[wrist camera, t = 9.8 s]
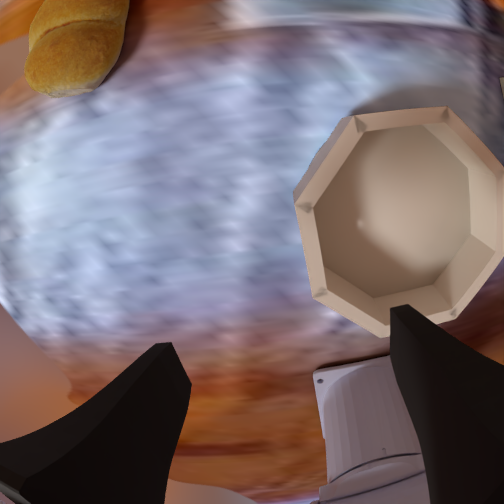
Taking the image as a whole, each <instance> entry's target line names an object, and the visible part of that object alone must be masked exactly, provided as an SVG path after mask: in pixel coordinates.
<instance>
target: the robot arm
mask: <svg viewBox="0 0 504 504" xmlns="http://www.w3.org/2000/svg"><path fill="white" fill-rule="evenodd" d="M313 379H314V385H315V391H316V396H317V402H318V408H319V414H320V420H321V426H322V432H323V438H324V439H325V441H326V458H327V478H328V484H327V485H325V486H321V487H319V500H316V501H313V502H311V503H310V504H504V365H502V364H500V363H498V362H496V361H494V360H492V359H490V358H488V357H486V356H484V355H482V354H480V353H479V352H477V351H475V350H473V349H472V348H470V347H469V346H467V345H465V344H464V343H462V342H461V341H459V340H458V339H456V338H455V337H453V336H452V335H450V334H449V333H447V332H446V331H444V330H443V329H442V328H440V327H439V326H437V325H436V324H435V323H433V322H432V321H431V320H429V319H428V318H427V317H425V316H424V315H423V314H421V313H420V312H419V311H417V310H416V309H414V308H413V307H412V306H410V305H409V304H405V305H400V306H396V307H392V308H390V355H389V356H385V357H380V358H376V359H371V360H366V361H362V362H357V363H351V364H346V365H341V366H335V367H330V368H324V369H318V370H316V371H314V373H313ZM319 379H322V380H319ZM191 386H192V384H191V382H190V380H189V378H188V376H187V374H186V372H185V370H184V368H183V366H182V364H181V362H180V359H179V357H178V355H177V353H176V351H175V349H174V347H173V345H172V343H171V342H167V343H156V344H155V345H153V346H152V347H151V348H149V349H148V350H147V351H146V352H145V353H143V354H142V355H141V356H140V357H139V358H138V359H137V360H135V361H134V362H133V363H132V364H131V365H130V366H129V367H128V368H126V369H125V370H124V371H123V372H122V373H121V374H120V375H119V376H117V377H116V378H115V379H114V380H113V381H112V382H110V383H109V384H108V385H107V386H106V387H104V388H103V389H102V390H101V391H99V392H98V393H97V394H96V395H94V396H93V397H92V398H91V399H89V400H88V401H87V402H85V403H84V404H82V405H81V406H79V407H78V408H76V409H75V410H74V411H72V412H70V413H69V414H67V415H65V416H64V417H62V418H60V419H58V420H56V421H55V422H53V423H51V424H49V425H47V426H45V427H43V428H41V429H39V430H37V431H34V432H32V433H30V434H27V435H25V436H22V437H19V438H16V439H13V440H10V441H6V442H3V443H0V492H2V493H3V494H4V495H5V496H6V497H8V498H9V499H10V500H12V501H13V502H14V503H15V504H164V501H165V492H166V487H167V480H168V475H169V470H170V466H171V462H172V458H173V455H174V452H175V449H176V446H177V442H178V439H179V436H180V433H181V430H182V427H183V423H184V420H185V417H186V414H187V410H188V405H189V400H190V393H191ZM0 504H5V503H4V502H3V501H1V500H0Z"/></svg>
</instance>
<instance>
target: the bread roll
mask: <svg viewBox="0 0 504 504" xmlns="http://www.w3.org/2000/svg"><path fill="white" fill-rule="evenodd" d="M128 9H129V0H45V1H44V3H43V4H42V6H41V7H40V9H39V11H38V12H37V14H36V16H35V18H34V20H33V22H32V24H31V26H30V31H29V50H30V53H29V55H28V57H27V59H26V63H25V68H24V69H25V77H26V80H27V82H28V84H29V85H30V87H31V88H32V89H33V90H34V91H38V92H40V93H41V94H44V95H47V96H49V97H51V98H60V97H70V96H75V95H78V94H82V93H85V92H91V91H93V90H95V89H96V88H97V87H98V86H99V85H100V84H101V83H102V81H103V80H104V78H105V77H106V75H107V74H108V73H109V72H110V70H111V69H112V67H113V66H114V65H115V63H116V62H117V60H118V58H119V55H120V52H121V48H122V44H123V40H124V31H125V22H126V19H127V14H128Z"/></svg>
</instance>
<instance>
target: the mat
mask: <svg viewBox="0 0 504 504" xmlns="http://www.w3.org/2000/svg"><path fill="white" fill-rule="evenodd" d="M500 83H501V88H502V92H503V97H504V77H501V78H500Z"/></svg>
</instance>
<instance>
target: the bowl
mask: <svg viewBox="0 0 504 504" xmlns="http://www.w3.org/2000/svg"><path fill="white" fill-rule="evenodd" d="M293 198H294V205H295V209H296V214H297V219H298V224H299V229H300V234H301V239H302V244H303V249H304V254H305V259H306V264H307V269H308V275H309V280H310V286H311V291H312V298H314V299H315V300H317V301H319V302H320V303H322V304H324V305H325V306H327V307H329V308H331V309H332V310H334V311H336V312H337V313H339V314H341V315H342V316H344V317H346V318H347V319H349V320H351V321H352V322H354V323H356V324H358V325H359V326H361V327H363V328H364V329H366V330H368V331H369V332H371V333H373V334H375V335H376V336H378V337H380V338H383V337H388V336H390V308H392V307H396V306H400V305H405V304H409V305H410V306H412V307H413V308H414V309H416V310H417V311H419V312H420V313H421V314H423V315H424V316H425V317H427V318H428V319H429V320H431V321H432V322H433V323H435V324H439V323H443V322H447V321H450V320H453V319H456V318H457V317H458V315H459V314H460V313H461V312H462V311H463V309H464V308H465V307H466V306H467V305H468V303H469V302H470V301H471V300H472V298H473V297H474V296H475V295H476V293H477V292H478V291H479V290H480V288H481V287H482V286H483V284H484V283H485V282H486V280H487V279H488V278H489V276H490V275H491V274H492V272H493V271H494V269H495V268H496V267H497V265H498V264H499V262H500V261H501V260H502V258H503V257H504V167H503V166H502V164H501V163H500V162H499V161H498V160H497V158H496V157H495V156H494V155H493V154H492V152H491V151H490V150H489V149H488V148H487V147H486V146H485V144H484V143H483V142H482V141H481V140H480V139H479V138H478V137H477V136H476V135H475V134H474V132H473V131H472V130H471V129H470V128H469V127H468V126H467V125H466V124H465V123H464V122H463V121H462V120H461V119H460V118H459V117H458V116H457V115H456V114H455V113H454V112H453V111H452V110H451V109H450V108H449V107H448V106H441V107H426V108H414V109H403V110H394V111H385V112H376V113H369V114H361V115H353V116H349V117H344V118H341V120H340V121H339V123H338V124H337V126H336V127H335V129H334V131H333V132H332V134H331V135H330V137H329V138H328V140H327V141H326V142H325V143H324V144H323V145H322V147H321V148H320V149H319V151H318V152H317V153H316V155H315V156H314V158H313V160H312V162H311V163H310V165H309V168H308V170H307V171H306V173H305V174H304V176H303V177H302V179H301V180H300V182H299V183H298V185H297V186H296V188H295V189H294V191H293Z"/></svg>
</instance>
